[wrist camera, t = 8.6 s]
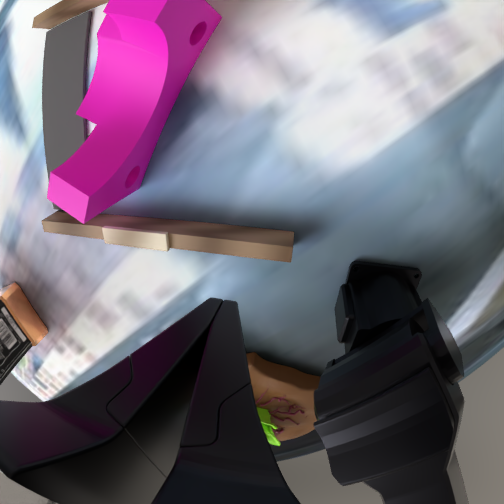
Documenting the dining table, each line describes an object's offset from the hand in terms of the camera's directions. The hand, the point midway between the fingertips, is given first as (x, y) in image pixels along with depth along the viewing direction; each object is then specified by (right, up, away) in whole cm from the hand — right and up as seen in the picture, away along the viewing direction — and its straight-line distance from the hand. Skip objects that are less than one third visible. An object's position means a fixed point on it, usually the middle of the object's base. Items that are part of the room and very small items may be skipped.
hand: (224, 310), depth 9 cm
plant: (+1, -17, +25) cm, 31 cm away
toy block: (-7, +14, +9) cm, 18 cm away
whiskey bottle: (-39, -8, +27) cm, 48 cm away
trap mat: (-16, +14, +10) cm, 24 cm away
